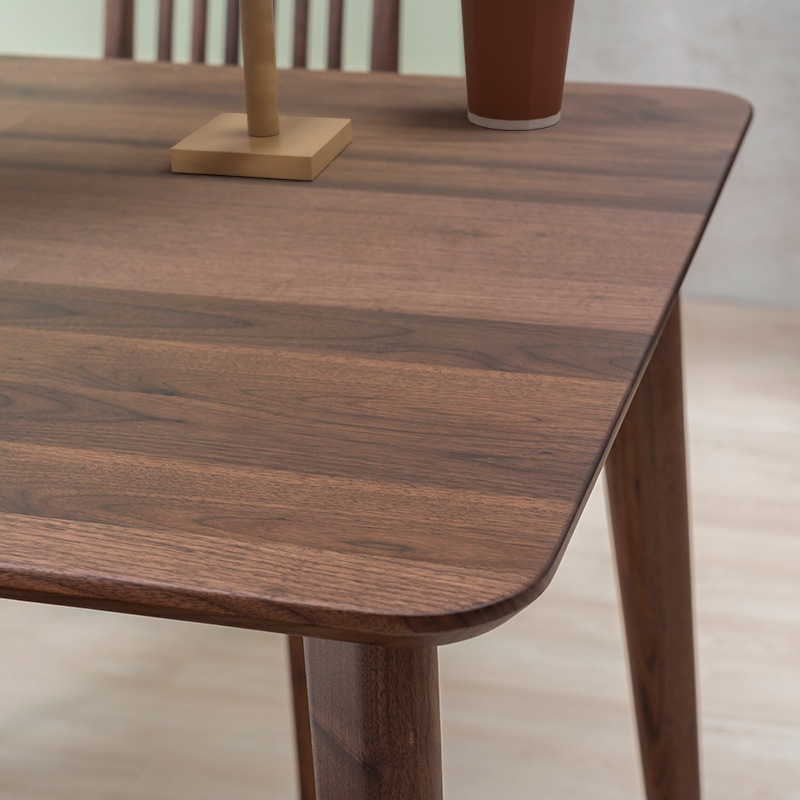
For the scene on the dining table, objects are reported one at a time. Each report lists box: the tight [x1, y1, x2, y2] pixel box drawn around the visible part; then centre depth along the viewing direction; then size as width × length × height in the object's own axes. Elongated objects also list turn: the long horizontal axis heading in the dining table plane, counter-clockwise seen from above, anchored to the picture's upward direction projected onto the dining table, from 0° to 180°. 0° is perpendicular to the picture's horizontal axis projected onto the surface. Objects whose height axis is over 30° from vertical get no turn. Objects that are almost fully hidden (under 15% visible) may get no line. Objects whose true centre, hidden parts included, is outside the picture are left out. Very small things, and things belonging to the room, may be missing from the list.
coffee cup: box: [460, 0, 576, 131], centre depth 85 cm, size 9×9×12 cm
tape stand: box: [169, 0, 353, 182], centre depth 78 cm, size 9×9×10 cm
